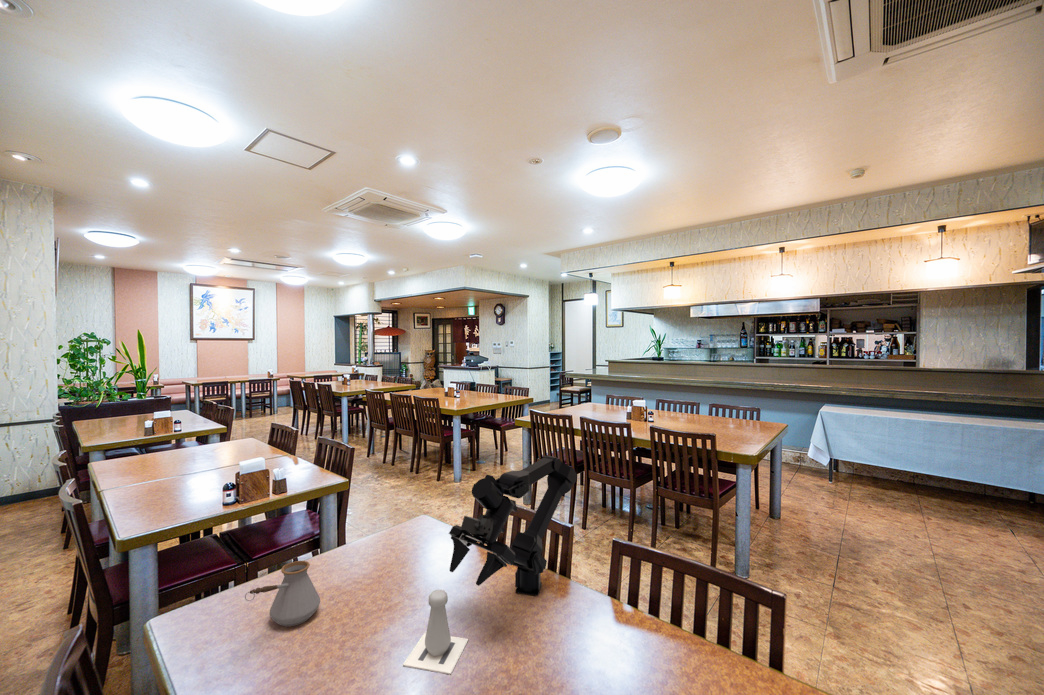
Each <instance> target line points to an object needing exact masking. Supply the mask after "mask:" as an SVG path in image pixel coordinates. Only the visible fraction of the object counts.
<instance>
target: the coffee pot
mask: <svg viewBox="0 0 1044 695" xmlns="http://www.w3.org/2000/svg"><path fill="white" fill-rule="evenodd" d="M310 565H311V564H310V562H308V561H306V560H297V561H292V562H289V563H285V564H284V565H283V566H282V567H281V569H280V570H281V573H282V574H283V579H282V581H281V584H277V585H276V584H275V585H265V586H262V587H256V588H254V589H251V590H249V591H247V592H246V593H245V595H244V600H245V601H247V602H250V601H253V600H254V598H255V597H256V595H255V594H257V595H258V594H260V593H269V592H272V591H274V590H277V593H276V595H275V597H274V599H273V602H272V604H271V606H270V609H269V616H270V618H271V619H272V621H273V622H275V623H276V624H278V625H279V626H282V627H295V626H298V625H301V624H303V623H306V621H308V620H310V619H311V617H312V616H313V615H314V614H315V612H316V611H317V610H318V609H319V606H320V604H321V597H320V595H319V593H318V591H317V590H316V587H315V586H314V583H313V582H312V579H311V577H310V576H309V574H308V569H309V568H310ZM247 594H251V595H253V598H251V600H248V599H247V598H246V597H247Z"/></svg>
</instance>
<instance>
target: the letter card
mask: <svg viewBox="0 0 1044 695" xmlns="http://www.w3.org/2000/svg"><path fill="white" fill-rule="evenodd" d="M426 632H427V631H424V632H423V635H422V636H421V637H420V639H419V641H417V643H416V645H415V646H414V647H413V649H412V650H411V652H410V653H409V655H408V656H407V657H406V659H405V661H404V662H403V663H402V667H407V668H412V669H417V670H423V671H428V672H434V673H439V674H445V675H452V673H453V671H454V669H455V667H456V666H457V664H458V661H459V660H460V659H461V658H460V657H461V656H462V653H463V651H464V650H465V648H466V646H467V643H468V642H469V638H465V637H458V636H452V635H450V636H451V642H450V645H449V647H448V649H447V651H446V652H445V653H444V654H443V655H442V656H437V657H433V656H432V655H430V654H429V653H428V651H427V649H426V646H425V637H426Z"/></svg>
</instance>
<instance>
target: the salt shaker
mask: <svg viewBox="0 0 1044 695" xmlns="http://www.w3.org/2000/svg"><path fill="white" fill-rule="evenodd" d="M448 598H449V597H448V593H447V592H446V591H445V590H443V589H435V590H433V591H431V592H430V594H429V595H428V606H430V612H429V617H428V622H427V627H426V631H425V632H426V637H425V646H426V649H427V651H428V653H429V654H430V655H432V656H433V657H437V656H442V655H443V654H444V653H445V652H446V651H447V649H448V647H449V645H450V642H451V636H452V635H451V633H450V632H451V631H450V628H449V620H448V616H447V608H446V605H447V604H448V600H449V599H448Z"/></svg>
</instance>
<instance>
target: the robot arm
mask: <svg viewBox="0 0 1044 695" xmlns="http://www.w3.org/2000/svg"><path fill="white" fill-rule="evenodd" d="M544 477H545V478H546V480H547V483H546V484H547V488H546V490H545V493H544V495H543V496H542V499H541V501H540V503H539V506H538V507H537V509H536V511H535V513H534V515H533V516H532V519H531V521H530V523H529V525H528V526H527V529H526V530H525V531H523V532H522V531H518V532H517V533H516V535H515V538H514V540H513V541H512V542H511V546H508V545H507V544H506V543H503V542H500V541H498V538H499V536H500V534H501V533H502V534H504V533H505V531H506V528H504V526H505V524H506V522H507V521H508V518H509V517H510V514H511V513H512V512H514V513H515V512H516V513H517V511H518V506H517V504H516V503H517V502H516V500H514V499H510V498H509V497H511V498H515V499H522V498H523V497H524V496H525V495H526V494H527V493H528V492H530V487H531V486H532V485H533V484H535V483H537V482H538V481H539V480H541V479H543V478H544ZM577 479H578V474H577V472H576V470H575V468H573V467H571V466H570V465H568V464H566V463H565V462H563V461H562V460H561V459H560V458H559V457H557V456H551V455H544V456H543V457H542V458H540V459H539V460H537V461H535V462H533V463H532V464H529V465H528V466H526V467H523V469H519V470H511V471H506V472H503V473H501V475H500V476H499V477H498V478H496V479H495V476H493V475H490V474H486V475H485V477H483V478H481V479H479V480H477V481H476V482H475V483H474V484H473V486H472V488H471V495H472V497H473V498H474V499H475V500H476V501H477V502H478V503H479V504H480V505H481V506H482V507H483V508H484V509H485V510H486V511H485V513H484V514H480V515H478V518H476V517H472V516H467V515H464V516H463V519H462V523H461V525H458V524H455V525H453V526H452V527H451V529H450V531H449V533H448V534H449V536H450V539H451V540H452V543H453V550H452V551H453V552H452V556H451V561H450V566H449V572H450V573H454V572H455V571H456V569H457V568H458V567H459V565H460V564H461V563H462V561H463V560H464V558H465V557H466V556H467V554H468V553H469V552H470V551H471V549H470V548H469V547H471V546H472V545H474V546H476V547H478V548H480V549H483V550H484V551H486V559H485V560H486V561H485V563H484V564H483V567H482V568H481V570H480V572H479V575H478V577H477V578H476V582H475V585H476V586H478V587H479V586H481V585H482V584H483V583H484V582H486V581H487V580H488V579H489V578H490V577H492V575H494V574H495V573H497V572H498V571H500V570H501V569H503V568H507V567H508V565H510V566H515V567H516V568H517V569H516V571H515V573H514V574H515V579H514V580H515V581H514V584H515V586H514V587H515V593H516V594H522V595H529V596H535V597H537V596H538V597H539V594H540V590H541V589H542V586H543V585H542V584H543V582H541V574H543V573H544V570H545V569H546V567H547V564H548V562H547V559H546V558H545V557H544V556H543V555H542V554H543V537H544V536H545V533H546V531H547V529H548V527H549V524H550V522H551V521H552V518H553V516H554V515H555V512H556V510H557V508H558V506H559V503H560V501H561V499H562V498H563V496H565V494H567V493H569V492H570V491H571V490H572V488H573V486H574V485H575V483H576V482H577Z"/></svg>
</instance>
